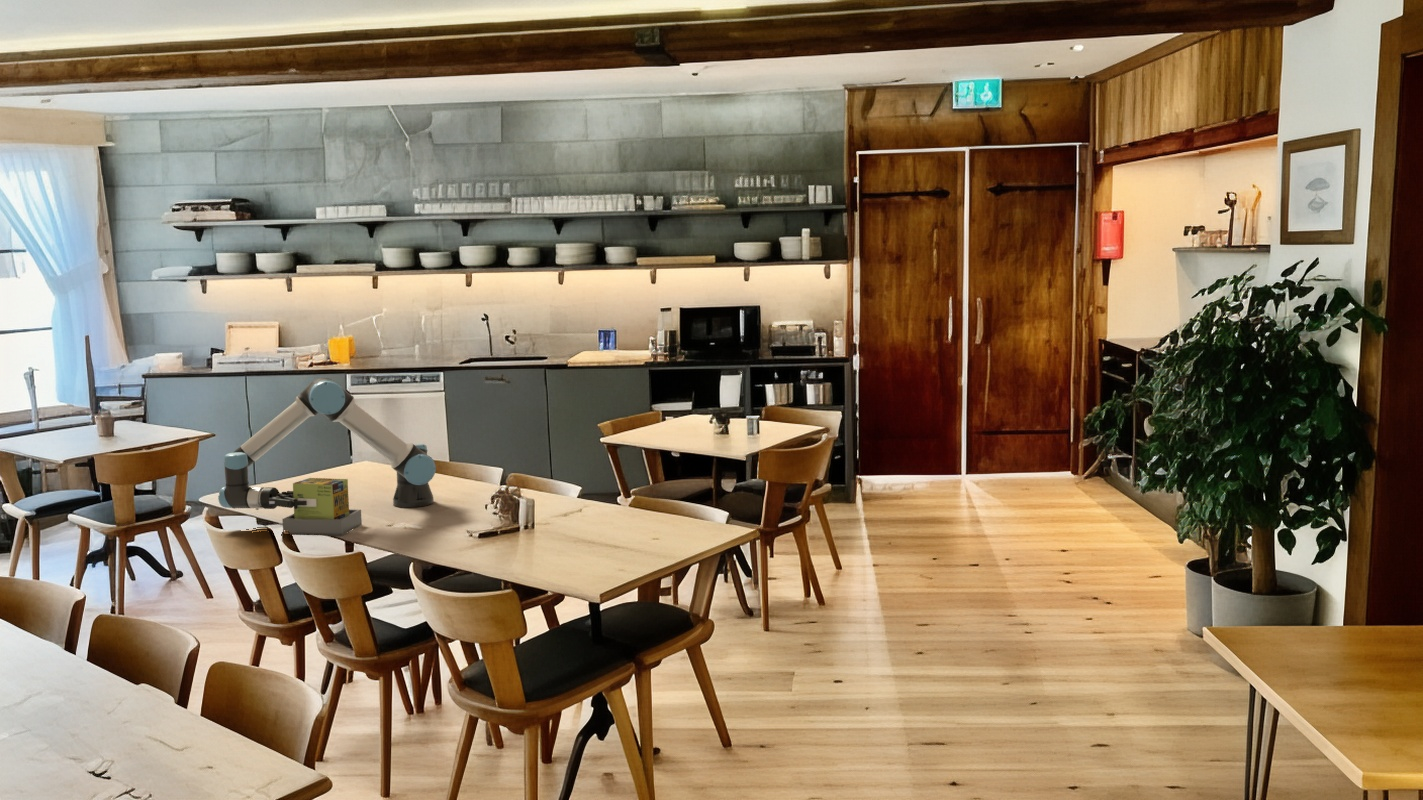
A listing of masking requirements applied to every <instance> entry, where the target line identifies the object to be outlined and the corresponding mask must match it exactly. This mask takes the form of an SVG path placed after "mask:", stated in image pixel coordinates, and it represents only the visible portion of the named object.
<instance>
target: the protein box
mask: <svg viewBox="0 0 1423 800" xmlns="http://www.w3.org/2000/svg"><path fill="white" fill-rule="evenodd" d="M292 491H293V498H294V499H297V501H298V498H309V499H317V507H299V506H298V505H297V509H294V508H293V514H294V519H341V518H343V517H345V516H347V515H349V509H350V504H349V503H350V501H349V479H348V478H326V477H319V478H318V477H309V478H305V479H303V480H299V481H295V482H293V483H292Z"/></svg>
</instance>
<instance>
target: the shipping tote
mask: <svg viewBox="0 0 1423 800" xmlns="http://www.w3.org/2000/svg"><path fill="white" fill-rule="evenodd" d="M281 521H282V532H283V531H284V530H288V531H289V532H290V533H291V534H292V535H291V536H321V537H323V536H326V537H327V536H331V537H333V536H334V537H343V536H345V535H346V534H348V533H350V532H351V531H350V530H352V529H353V530H355V529H356V527H357V528H359V527H361V526H362V521H363V520H362V509H350V508H349V515H347V516H345V517H343V518H341V519H294V513H292V514H290V515H287V516H286V517H284V518H282V520H281ZM358 526H359V527H358ZM353 530H352V531H353ZM349 531H350V532H349ZM347 532H348V533H347Z"/></svg>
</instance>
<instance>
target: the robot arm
mask: <svg viewBox="0 0 1423 800" xmlns="http://www.w3.org/2000/svg"><path fill="white" fill-rule="evenodd" d="M319 413H320V414H321V415H322V416H324V417H326V419H328V420H329V421H330V422H332V423H336V422H337V423H338V422H339V423H340V424H342V426H344V427H346V428H347V429H348V430H349V431H351V432H352V433H353V434H355V435H356V436H357V437H358V438H359V439H361V440H362V441H363V442H365V443H366V444H367V445H368V446H370V447H372V449H374V450H376V452H378V453H379V454H380V455H381V456H383V457H384V458H385V459H387V460H388V461H389V462H390V465H391V469H393V470H394V471H395V472H396V487H395V491H394V495H393V498H392V504H393V506H394V507H397V508H419V507H425V506H426V507H427V506H429V505H432V504H434V502H435V501H434V494H433V492H432V489H431V487H430V484H429V482H430V481H432V480H433V478H434V477H435V474H436V471H437V470H436V467H437V466H436V463H435V460H434V459H433V458H432V457H431V456H430V455H428V447H427V445H426V444H414V443H412V442H411V443H410V442H409V443H406V442H405V441H404V440H402V439H401V438H400V437H399V436H397V435H396V434H394V433H393V432H392V431H390V429H388V428H387V427H386V426H384V425H383V424H382V423H381V422H379V421H378V420H376V418H374V417H373V416H372V415H370V414H369V413H368V412H366V411H365V410H364V409H362V408H361V407H360V406H359V405H358V404H356V403H355V397H354V396H353V395H352V394H350V393H349V392H348V391H347V390H346V389H344V388H343V387H342V386H341V385H340V384H339V383H337V382H336V381H335V380H334V379H333V380H332V379H331V378H329V377H320V378H316V379H314V380H313V381H311V382H310V383H309V384H308V385H307V386H306V387H305V388H304V389H303V390H302V392H300V393H299V394H298V395H297V396H296V397H295V401H293V403H292V404H290V405H289V406H287V408H285V409H284V410H283V411H282V412H280V413H279V414H278V415H277V416H275V417H274V418H273V419H272V420H270V421H269V422H268V423H267V424H266V425H264V426H263V427H262V428H261V429H260V430H258V431H257V432H255V434H253V435H252V436H251V437H250V438H248V439H247V440H246V441H245V442H244V443H243V444H242V445H240V446H239V447H237V448H236V449H235V450H234V451H232V452H229V453H226V454H225V455H224V456H223V457H224V459H223V460H224V461H223V466H224V475H225V476H224V478H225V486H223V487H222V488H220V489H219V492H218V494H219V495H218V496H217V497H218V504H219V505H220V506H221V507H222V508H227V509H234V510H235V509H255V510H256V511H259V510H260V509H265V510H267V509H268V510H270V509H271V510H274V509H276V508H277V507H282V508H288V509H289V508H290V509H292V508H293V510H294V509H297V505H298V506H299V507H317V499H309V498H298V501H297V499H294V498H293V490H286V491H281V492H280V491H279V489H278V488H277V487H275V486H274V487H273V486H272V487H267V486H250V481H249V467H251V466H252V465H253V464H254V463H255V462H256V461H257V460H259V459H260V458H261V457H262V456H264V455H265V454H266V453H267V452H268V451H270V450H271V449H272V448H273V447H275V446H276V445H277V444H278V443H279V442H281V441H282V440H283V439H285V437H287V436H288V435H289V434H290V433H292V432H293V431H295V429H296V428H298V427H299V426H300V425H301V424H302V423H305V421H306V420H307V419H308V418H310V417H316V416H317V415H318V414H319Z"/></svg>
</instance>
